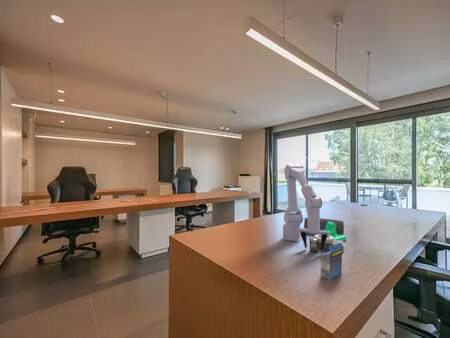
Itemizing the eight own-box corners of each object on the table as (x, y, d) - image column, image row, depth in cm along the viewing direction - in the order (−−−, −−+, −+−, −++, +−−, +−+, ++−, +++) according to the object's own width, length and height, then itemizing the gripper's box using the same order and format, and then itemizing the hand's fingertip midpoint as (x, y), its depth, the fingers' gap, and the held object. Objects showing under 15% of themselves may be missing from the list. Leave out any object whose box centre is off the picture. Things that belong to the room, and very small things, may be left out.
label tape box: (332, 270, 89) (332, 239, 90) (342, 274, 86) (342, 242, 86) (320, 276, 84) (319, 243, 84) (330, 280, 81) (330, 246, 81)
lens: (308, 252, 111) (308, 239, 111) (310, 249, 114) (309, 237, 114) (318, 253, 109) (317, 241, 109) (318, 250, 112) (318, 238, 113)
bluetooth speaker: (344, 234, 141) (343, 219, 142) (343, 238, 133) (343, 221, 133) (306, 230, 152) (306, 215, 153) (303, 233, 144) (303, 218, 145)
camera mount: (334, 244, 123) (334, 225, 123) (322, 240, 130) (322, 222, 130) (347, 240, 129) (347, 223, 130) (334, 237, 136) (334, 220, 136)
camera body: (312, 248, 116) (312, 237, 116) (314, 243, 124) (314, 233, 124) (343, 252, 109) (343, 241, 110) (343, 247, 117) (343, 236, 118)
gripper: (297, 221, 112) (297, 248, 111) (329, 224, 105) (329, 253, 105) (299, 218, 118) (299, 244, 118) (329, 221, 111) (330, 248, 111)
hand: (313, 248), depth 112 cm, fingers open, 7 cm apart
